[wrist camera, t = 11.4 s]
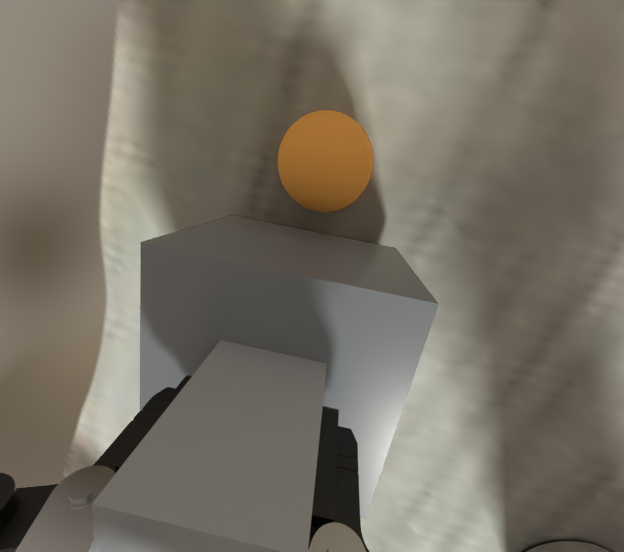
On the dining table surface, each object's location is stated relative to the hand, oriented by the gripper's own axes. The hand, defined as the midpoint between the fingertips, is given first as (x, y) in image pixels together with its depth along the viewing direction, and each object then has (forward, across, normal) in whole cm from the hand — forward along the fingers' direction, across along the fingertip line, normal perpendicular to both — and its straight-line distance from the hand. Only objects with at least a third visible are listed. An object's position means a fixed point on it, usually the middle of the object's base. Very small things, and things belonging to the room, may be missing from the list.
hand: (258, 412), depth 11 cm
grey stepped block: (+10, 0, 0) cm, 10 cm away
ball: (+9, 0, -9) cm, 12 cm away
